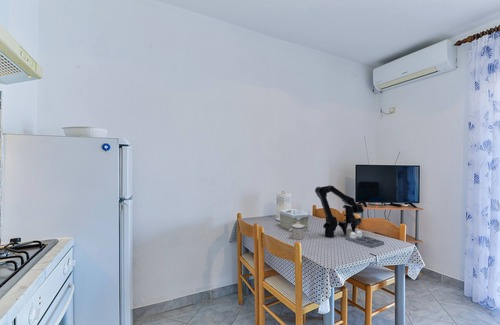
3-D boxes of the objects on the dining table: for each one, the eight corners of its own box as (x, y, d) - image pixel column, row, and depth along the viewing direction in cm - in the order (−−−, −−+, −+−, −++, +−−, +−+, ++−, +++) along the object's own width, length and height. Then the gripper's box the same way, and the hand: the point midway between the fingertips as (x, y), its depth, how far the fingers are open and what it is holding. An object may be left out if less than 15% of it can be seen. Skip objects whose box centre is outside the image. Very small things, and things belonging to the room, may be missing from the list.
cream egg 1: (353, 241, 170) (353, 233, 170) (348, 239, 174) (348, 231, 174) (357, 240, 172) (357, 232, 172) (352, 238, 176) (352, 230, 176)
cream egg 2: (359, 239, 173) (359, 231, 173) (354, 238, 177) (354, 230, 177) (363, 238, 175) (363, 231, 175) (358, 237, 179) (358, 229, 179)
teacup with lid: (300, 235, 187) (300, 220, 187) (306, 239, 179) (306, 223, 179) (286, 237, 184) (286, 221, 184) (291, 240, 175) (291, 224, 175)
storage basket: (278, 226, 215) (278, 209, 215) (294, 224, 221) (294, 208, 221) (293, 233, 193) (292, 215, 193) (310, 231, 199) (310, 213, 199)
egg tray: (371, 249, 157) (371, 244, 157) (345, 240, 174) (345, 236, 174) (383, 245, 163) (383, 241, 163) (357, 237, 181) (357, 233, 181)
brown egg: (349, 237, 182) (349, 229, 182) (345, 235, 186) (345, 228, 186) (353, 236, 184) (353, 229, 184) (348, 235, 188) (348, 227, 188)
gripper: (350, 217, 173) (350, 238, 174) (366, 214, 183) (366, 234, 183) (337, 214, 183) (337, 234, 183) (353, 211, 192) (353, 231, 192)
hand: (349, 234), depth 185 cm, fingers open, 9 cm apart
